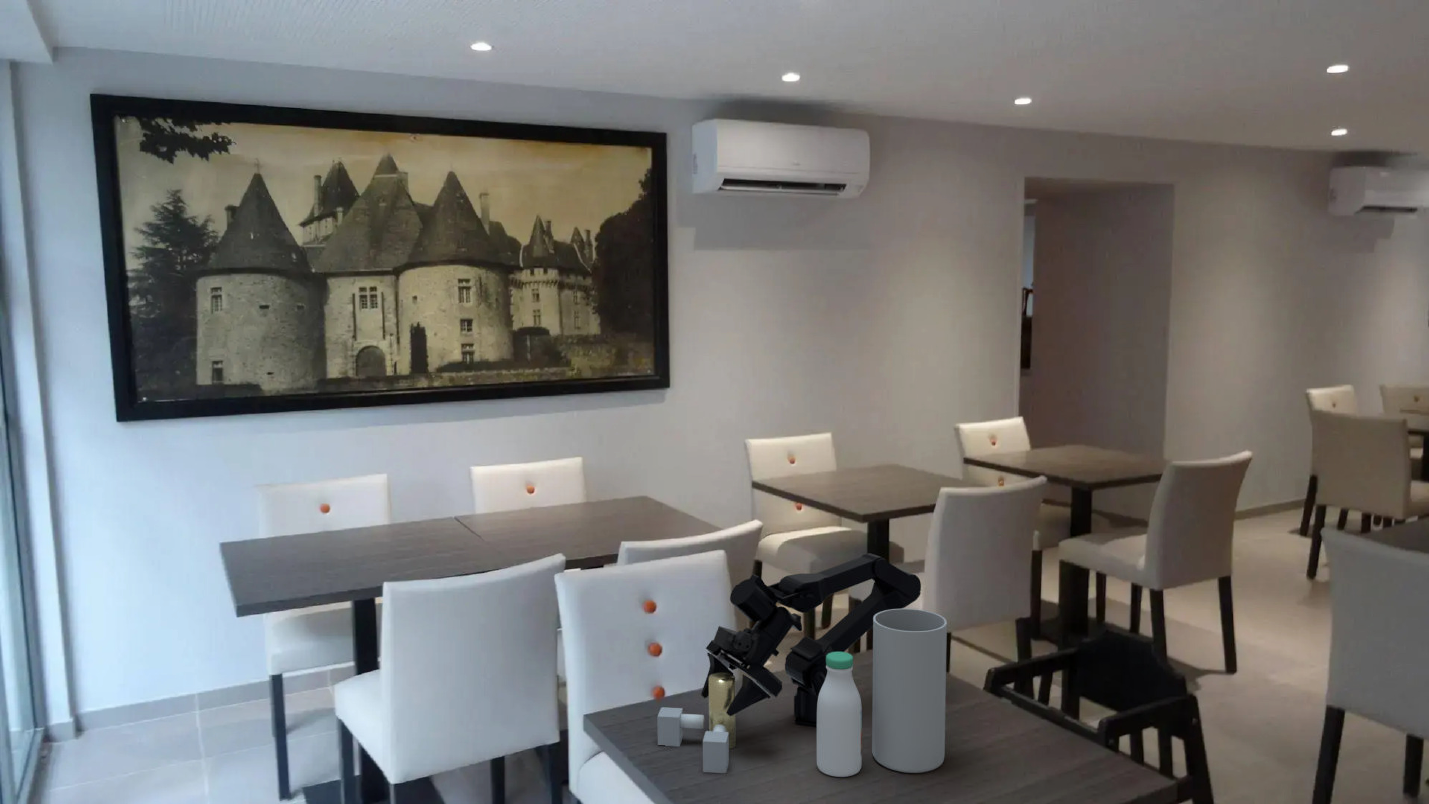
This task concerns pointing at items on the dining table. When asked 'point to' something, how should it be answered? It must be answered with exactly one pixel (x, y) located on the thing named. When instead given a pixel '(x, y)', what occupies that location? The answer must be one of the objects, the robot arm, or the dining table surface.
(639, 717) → the dining table surface
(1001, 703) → the dining table surface
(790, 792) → the dining table surface
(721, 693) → the olive pillar candle
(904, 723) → the cylinder vase
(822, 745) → the milk bottle
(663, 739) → the shaft on bearing block
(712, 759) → the shaft on bearing block
